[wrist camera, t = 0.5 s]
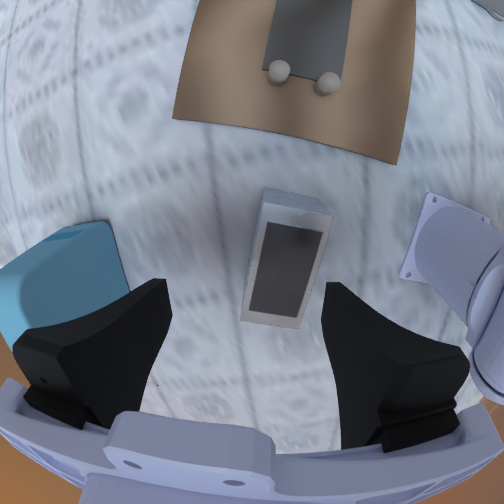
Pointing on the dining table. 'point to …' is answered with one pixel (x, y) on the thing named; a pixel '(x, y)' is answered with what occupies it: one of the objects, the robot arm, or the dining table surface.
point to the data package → (60, 279)
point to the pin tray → (303, 70)
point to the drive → (284, 258)
